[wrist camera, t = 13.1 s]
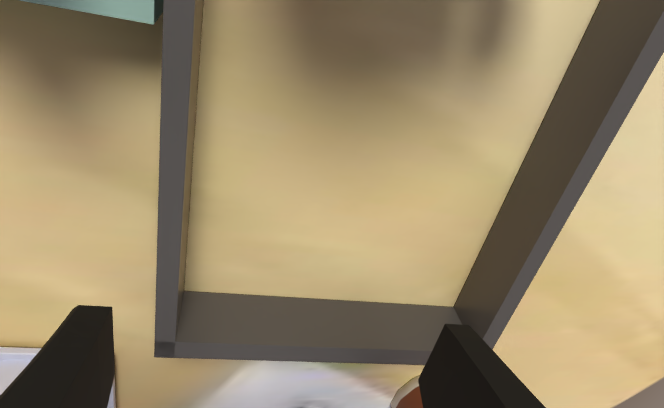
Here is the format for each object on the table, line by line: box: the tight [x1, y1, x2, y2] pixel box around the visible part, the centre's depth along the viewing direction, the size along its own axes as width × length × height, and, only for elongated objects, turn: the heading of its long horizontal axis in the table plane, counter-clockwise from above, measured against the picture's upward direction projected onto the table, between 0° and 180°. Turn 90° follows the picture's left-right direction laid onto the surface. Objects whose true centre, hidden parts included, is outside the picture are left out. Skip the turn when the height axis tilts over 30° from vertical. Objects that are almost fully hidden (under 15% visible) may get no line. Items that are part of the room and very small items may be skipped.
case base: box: [154, 0, 664, 365], centre depth 18 cm, size 18×15×3 cm
